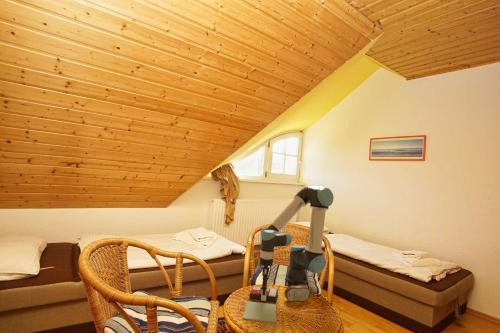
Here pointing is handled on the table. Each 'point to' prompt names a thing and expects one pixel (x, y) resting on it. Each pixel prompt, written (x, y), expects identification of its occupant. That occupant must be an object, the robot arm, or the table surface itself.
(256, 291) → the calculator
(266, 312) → the mat
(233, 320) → the table surface
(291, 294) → the tin
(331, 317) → the table surface
